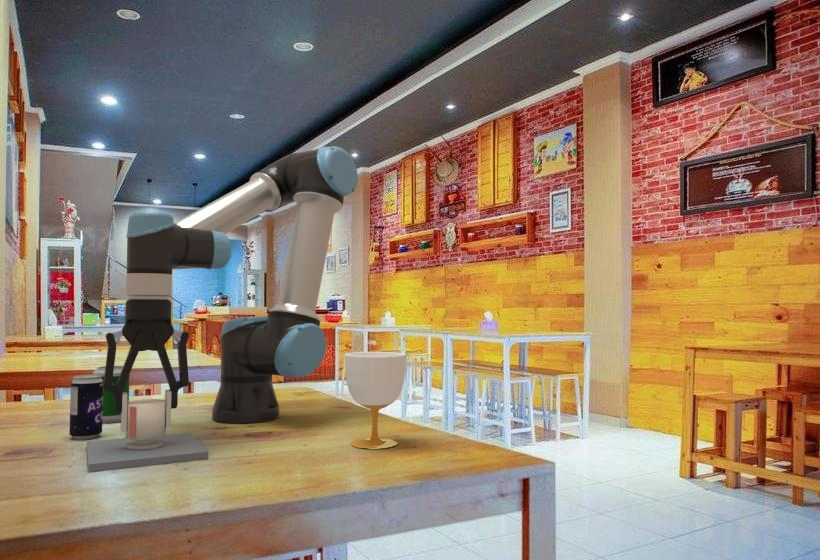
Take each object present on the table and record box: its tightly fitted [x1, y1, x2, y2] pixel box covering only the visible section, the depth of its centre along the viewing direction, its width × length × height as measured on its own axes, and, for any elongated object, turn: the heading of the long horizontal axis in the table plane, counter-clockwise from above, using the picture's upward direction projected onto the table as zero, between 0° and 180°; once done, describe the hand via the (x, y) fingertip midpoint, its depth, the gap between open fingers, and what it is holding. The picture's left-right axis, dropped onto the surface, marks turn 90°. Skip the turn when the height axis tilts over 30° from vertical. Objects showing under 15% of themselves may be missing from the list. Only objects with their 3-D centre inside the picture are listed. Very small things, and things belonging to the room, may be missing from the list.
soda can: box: [92, 365, 131, 424], centre depth 137 cm, size 8×8×12 cm
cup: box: [344, 351, 407, 449], centre depth 115 cm, size 12×12×17 cm
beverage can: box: [68, 374, 103, 441], centre depth 119 cm, size 6×6×12 cm
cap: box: [125, 398, 166, 440], centre depth 107 cm, size 6×6×6 cm
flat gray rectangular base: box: [86, 431, 209, 473], centre depth 107 cm, size 18×18×3 cm
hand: (145, 428), depth 107 cm, fingers closed on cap, 6 cm apart
